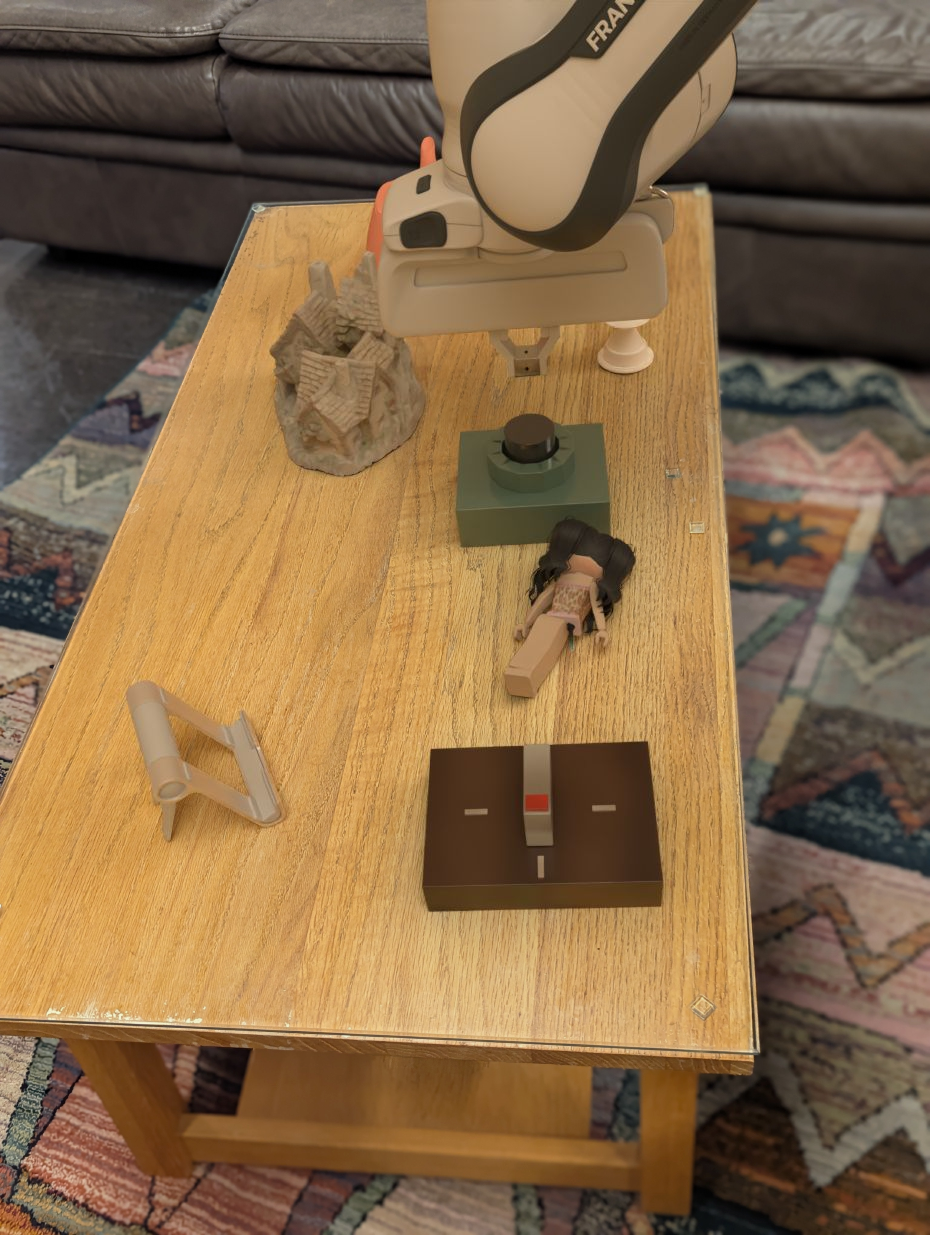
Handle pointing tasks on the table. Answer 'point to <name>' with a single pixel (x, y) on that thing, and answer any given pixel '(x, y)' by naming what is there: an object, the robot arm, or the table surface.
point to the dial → (537, 795)
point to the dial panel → (582, 830)
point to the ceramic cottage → (343, 376)
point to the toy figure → (568, 599)
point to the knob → (529, 438)
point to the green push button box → (530, 487)
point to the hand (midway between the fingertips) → (527, 372)
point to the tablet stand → (182, 779)
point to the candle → (625, 348)
